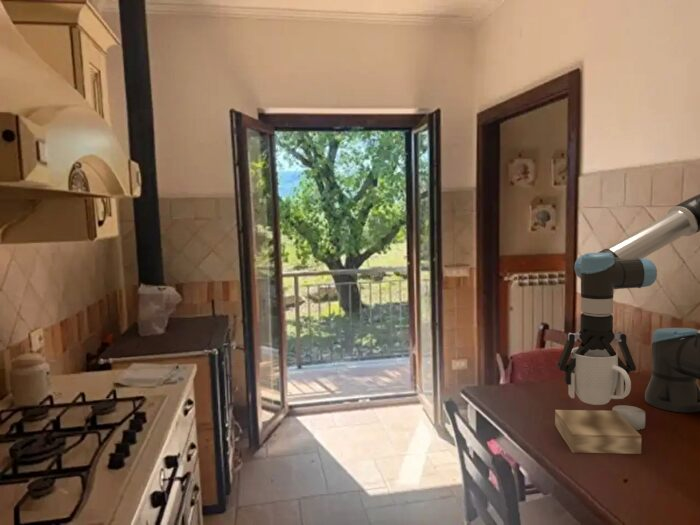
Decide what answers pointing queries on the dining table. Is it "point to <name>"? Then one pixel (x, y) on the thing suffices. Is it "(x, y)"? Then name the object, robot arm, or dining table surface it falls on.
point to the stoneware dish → (632, 415)
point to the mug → (598, 377)
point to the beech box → (597, 432)
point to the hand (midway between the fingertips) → (595, 396)
